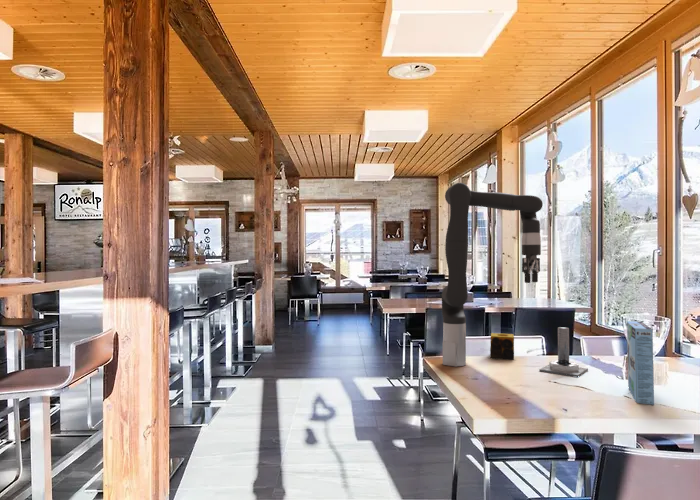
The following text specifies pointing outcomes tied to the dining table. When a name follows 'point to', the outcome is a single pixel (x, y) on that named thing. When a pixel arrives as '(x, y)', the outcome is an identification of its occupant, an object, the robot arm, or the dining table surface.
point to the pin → (563, 345)
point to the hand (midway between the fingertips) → (531, 282)
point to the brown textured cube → (502, 346)
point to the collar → (564, 369)
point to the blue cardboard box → (640, 362)
